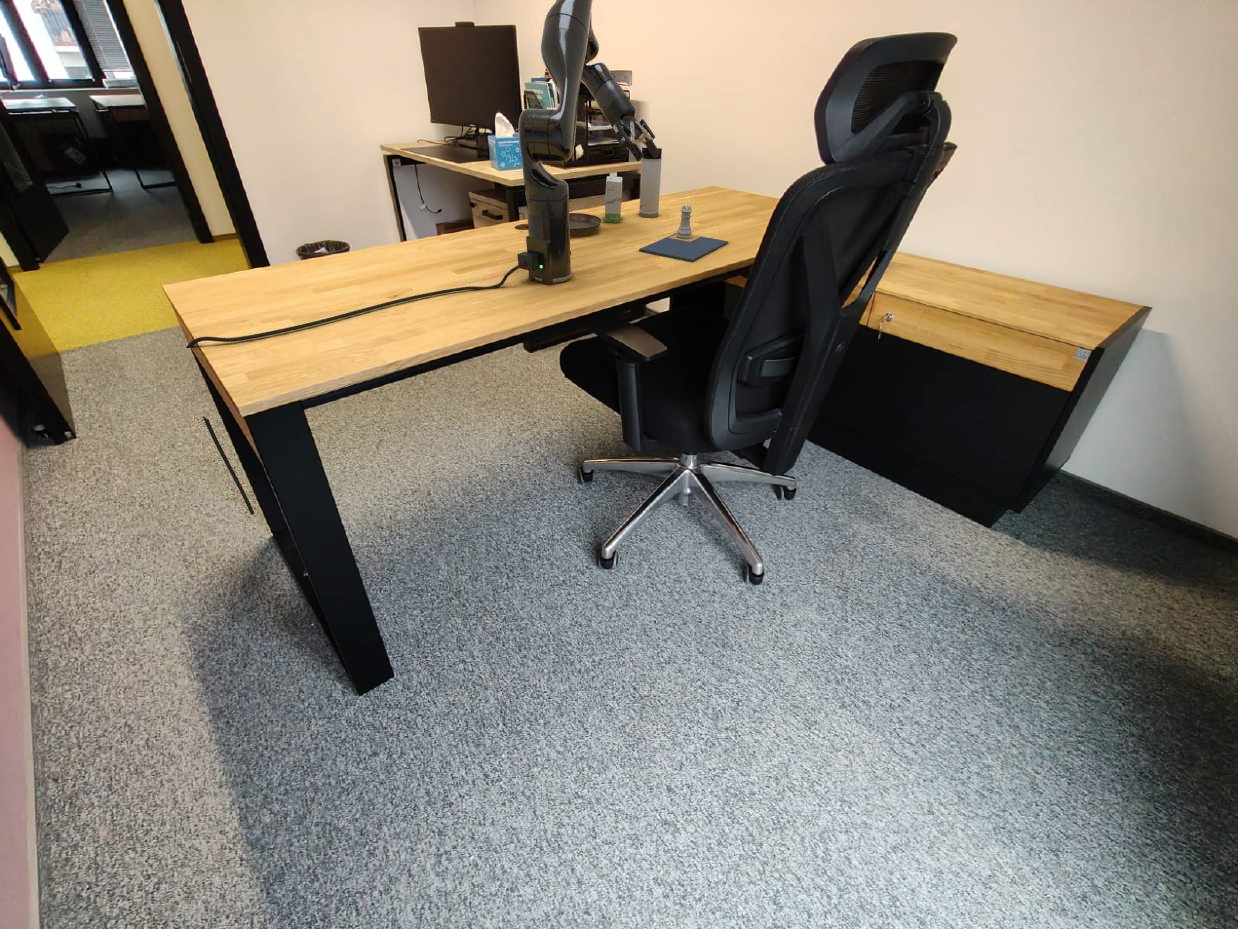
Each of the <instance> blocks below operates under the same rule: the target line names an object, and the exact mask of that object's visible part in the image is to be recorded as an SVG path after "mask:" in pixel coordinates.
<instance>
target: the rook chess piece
mask: <svg viewBox="0 0 1238 929" xmlns="http://www.w3.org/2000/svg"><path fill="white" fill-rule="evenodd" d="M680 212H681V215H680V217H681V219H680V220H681V221H680V225H679V226H678V229H677V230H676V233H678V234H677V237H678V238H681V239H689V238H691V237H692V235H693V230H692V228H691V217H692V215H691V214H692V212H693V209H692V206H689V205H682V206H681V209H680Z"/></svg>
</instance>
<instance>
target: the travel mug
mask: <svg viewBox="0 0 1238 929" xmlns="http://www.w3.org/2000/svg"><path fill="white" fill-rule="evenodd" d="M657 148H658V150H659V152H660V153H659V155H658V156H657V157H656V158H653V157H652V155H651V154H650V152H649V151H648V149H647V148H646V147H641V152H642V153H643V155H644V156H643V158H642V159H641V160H640V184H639V185H640V186H639V212H638V215H639V216H640V217H641V218H657V217H659V210H660V209H659V208H660V192H661V190H660V189H661V176H662V175H661V174H662V160H663V159H662V155H663V154H662V153H663V148H662V147H661V148H660V147H657Z"/></svg>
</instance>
